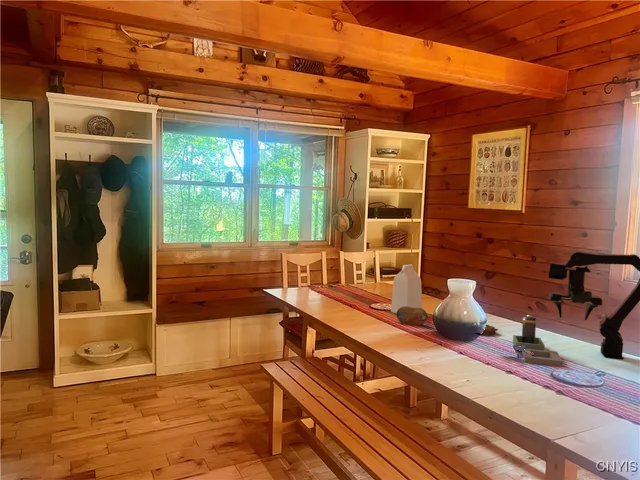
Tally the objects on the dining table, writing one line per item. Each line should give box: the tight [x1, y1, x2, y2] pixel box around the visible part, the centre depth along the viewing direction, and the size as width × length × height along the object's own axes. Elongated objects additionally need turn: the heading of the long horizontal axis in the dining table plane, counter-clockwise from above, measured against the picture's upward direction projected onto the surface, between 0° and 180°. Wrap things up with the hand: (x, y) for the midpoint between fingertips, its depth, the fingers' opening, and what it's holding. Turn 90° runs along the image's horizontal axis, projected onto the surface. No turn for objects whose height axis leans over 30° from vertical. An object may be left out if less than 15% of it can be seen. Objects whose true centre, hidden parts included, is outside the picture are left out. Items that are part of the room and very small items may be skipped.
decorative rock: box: [482, 324, 499, 337], centre depth 211 cm, size 11×4×15 cm
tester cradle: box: [523, 348, 564, 367], centre depth 174 cm, size 13×11×2 cm
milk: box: [390, 264, 423, 314], centre depth 242 cm, size 12×12×26 cm
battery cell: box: [521, 314, 537, 344], centre depth 187 cm, size 5×5×13 cm
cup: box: [512, 334, 545, 350], centre depth 187 cm, size 11×11×4 cm
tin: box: [396, 306, 428, 326], centre depth 221 cm, size 15×3×8 cm, turn 62°
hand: (572, 318), depth 185 cm, fingers open, 9 cm apart
